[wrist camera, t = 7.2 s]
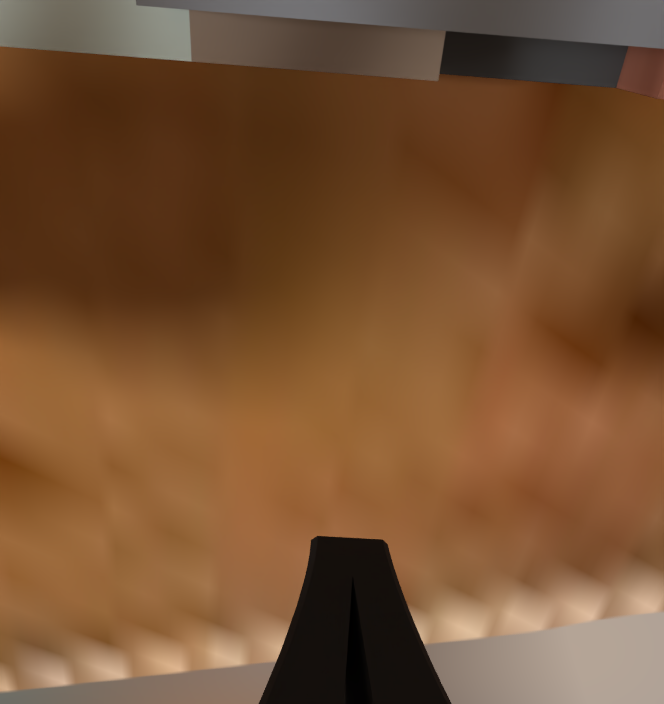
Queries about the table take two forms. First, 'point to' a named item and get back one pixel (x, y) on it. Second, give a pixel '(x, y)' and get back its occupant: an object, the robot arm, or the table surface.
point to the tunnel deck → (367, 36)
